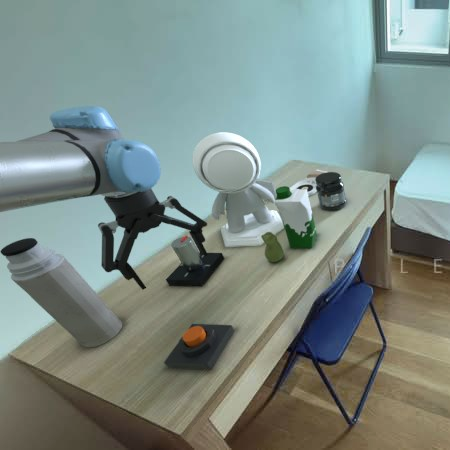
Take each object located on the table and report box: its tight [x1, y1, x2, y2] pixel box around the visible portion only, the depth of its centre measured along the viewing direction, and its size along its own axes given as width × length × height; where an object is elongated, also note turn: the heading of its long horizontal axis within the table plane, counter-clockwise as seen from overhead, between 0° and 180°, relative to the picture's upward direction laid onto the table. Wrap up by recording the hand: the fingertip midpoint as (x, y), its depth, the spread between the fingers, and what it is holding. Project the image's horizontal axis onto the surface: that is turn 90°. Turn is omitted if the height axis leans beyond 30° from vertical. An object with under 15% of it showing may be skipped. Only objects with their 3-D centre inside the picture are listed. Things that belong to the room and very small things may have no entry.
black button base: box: [163, 323, 235, 371], centre depth 70 cm, size 10×10×4 cm
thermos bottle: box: [0, 237, 123, 348], centre depth 68 cm, size 8×8×28 cm
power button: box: [182, 326, 206, 347], centre depth 69 cm, size 4×4×2 cm
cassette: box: [255, 178, 277, 200], centre depth 127 cm, size 12×2×8 cm, turn 67°
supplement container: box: [315, 171, 347, 211], centre depth 119 cm, size 10×10×12 cm
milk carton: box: [273, 185, 318, 249], centre depth 97 cm, size 9×9×20 cm
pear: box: [261, 232, 284, 263], centre depth 93 cm, size 6×5×10 cm
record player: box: [289, 169, 327, 197], centre depth 135 cm, size 12×3×20 cm
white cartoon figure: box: [191, 131, 285, 248], centre depth 100 cm, size 20×23×35 cm
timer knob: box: [170, 235, 204, 271], centre depth 89 cm, size 5×5×9 cm
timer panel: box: [165, 252, 225, 288], centre depth 92 cm, size 12×10×3 cm
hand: (175, 269), depth 73 cm, fingers open, 13 cm apart
